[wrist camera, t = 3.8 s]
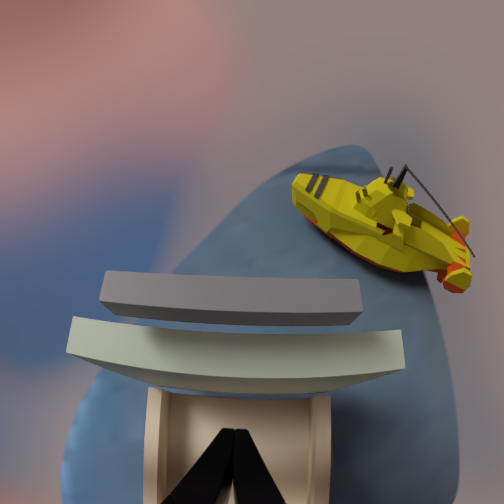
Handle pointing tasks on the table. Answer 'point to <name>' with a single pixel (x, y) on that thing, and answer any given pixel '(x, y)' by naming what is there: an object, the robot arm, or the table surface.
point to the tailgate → (235, 334)
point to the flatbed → (261, 430)
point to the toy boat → (387, 226)
